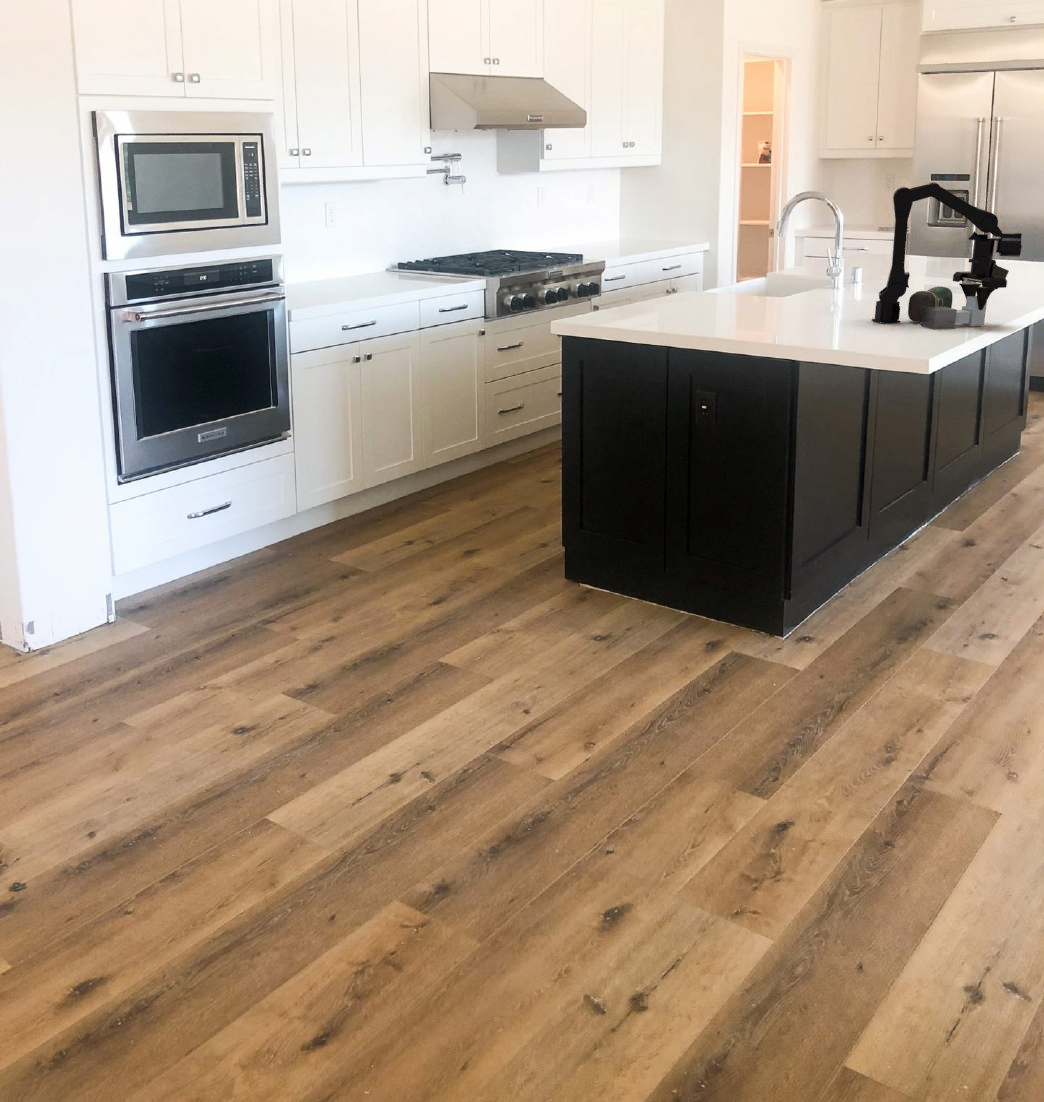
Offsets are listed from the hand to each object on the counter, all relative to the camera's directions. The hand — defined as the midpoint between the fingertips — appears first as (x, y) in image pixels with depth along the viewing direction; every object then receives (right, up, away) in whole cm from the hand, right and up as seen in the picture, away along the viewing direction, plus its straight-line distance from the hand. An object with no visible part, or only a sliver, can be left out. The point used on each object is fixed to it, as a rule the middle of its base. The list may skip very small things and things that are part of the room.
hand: (975, 308), depth 364 cm
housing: (-12, -6, -2) cm, 13 cm away
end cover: (-3, -5, +1) cm, 6 cm away
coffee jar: (-5, +6, +17) cm, 18 cm away
